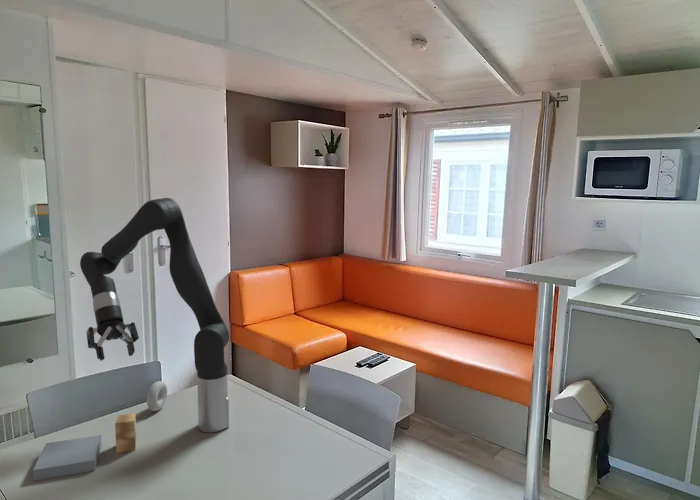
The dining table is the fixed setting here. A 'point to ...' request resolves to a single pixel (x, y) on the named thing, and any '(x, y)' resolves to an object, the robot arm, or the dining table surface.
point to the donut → (157, 396)
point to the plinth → (68, 457)
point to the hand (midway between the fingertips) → (117, 357)
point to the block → (125, 433)
